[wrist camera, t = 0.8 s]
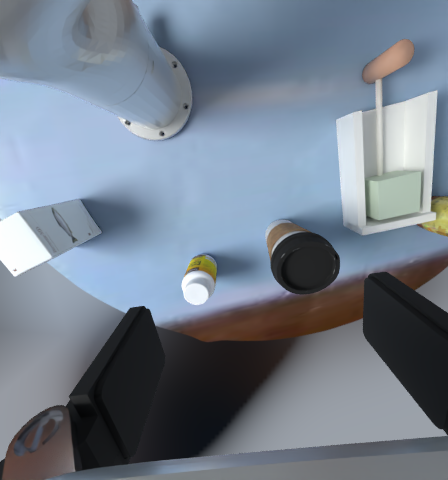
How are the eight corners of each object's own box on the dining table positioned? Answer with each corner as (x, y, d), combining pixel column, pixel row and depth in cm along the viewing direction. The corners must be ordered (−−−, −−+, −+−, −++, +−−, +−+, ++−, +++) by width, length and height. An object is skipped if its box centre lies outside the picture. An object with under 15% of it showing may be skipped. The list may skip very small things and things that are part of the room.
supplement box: (104, 232, 42) (54, 259, 30) (72, 247, 43) (12, 279, 31) (80, 197, 40) (17, 210, 28) (48, 213, 41) (-26, 233, 29)
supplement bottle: (203, 247, 42) (196, 271, 33) (223, 266, 44) (221, 295, 34) (183, 265, 44) (171, 293, 34) (203, 283, 45) (196, 315, 35)
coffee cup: (310, 241, 42) (353, 281, 27) (270, 262, 43) (291, 309, 29) (291, 203, 39) (327, 225, 25) (250, 226, 41) (262, 259, 27)
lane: (336, 119, 35) (356, 110, 29) (408, 100, 34) (444, 87, 28) (343, 225, 41) (362, 235, 35) (405, 212, 40) (435, 220, 34)
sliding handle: (350, 67, 32) (376, 46, 27) (392, 55, 32) (428, 32, 26) (357, 212, 39) (379, 220, 34) (392, 204, 39) (420, 211, 33)
